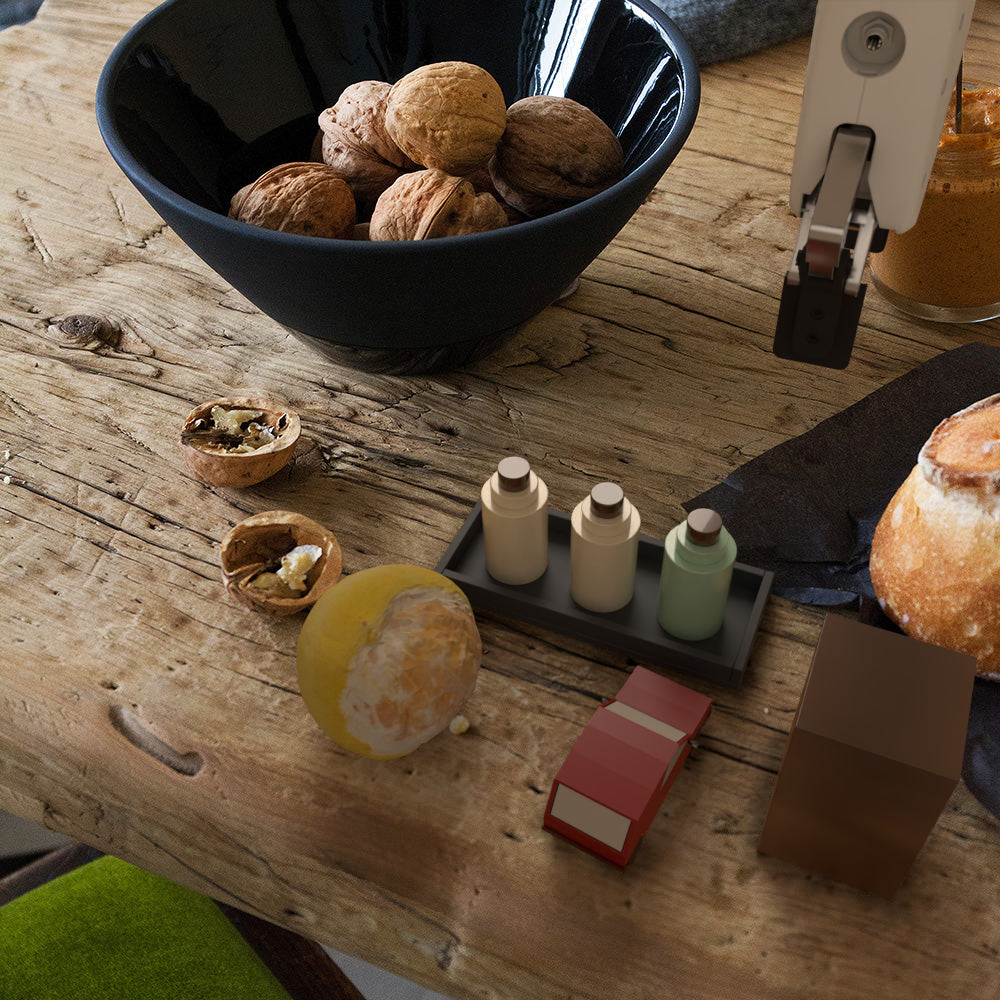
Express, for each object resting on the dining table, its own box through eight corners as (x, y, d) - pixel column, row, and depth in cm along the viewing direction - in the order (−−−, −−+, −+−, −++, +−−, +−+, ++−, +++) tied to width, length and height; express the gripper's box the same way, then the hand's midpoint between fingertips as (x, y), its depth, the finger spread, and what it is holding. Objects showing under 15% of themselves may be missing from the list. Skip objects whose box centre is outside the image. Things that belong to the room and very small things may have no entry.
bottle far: (557, 548, 69) (558, 454, 63) (533, 593, 66) (532, 499, 60) (500, 531, 70) (496, 437, 64) (474, 574, 68) (467, 480, 62)
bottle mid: (642, 573, 67) (652, 479, 61) (621, 620, 65) (629, 527, 59) (582, 555, 69) (586, 461, 62) (559, 601, 66) (561, 507, 60)
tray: (770, 593, 67) (775, 572, 65) (737, 692, 61) (742, 671, 60) (486, 510, 73) (484, 489, 71) (434, 593, 68) (432, 572, 66)
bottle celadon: (731, 600, 66) (750, 505, 59) (713, 649, 63) (731, 556, 57) (667, 581, 67) (679, 486, 61) (647, 628, 64) (658, 535, 58)
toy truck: (717, 725, 60) (730, 675, 56) (629, 891, 53) (638, 847, 49) (627, 682, 62) (634, 631, 58) (531, 836, 55) (533, 790, 52)
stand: (912, 786, 57) (977, 656, 48) (892, 901, 52) (960, 781, 44) (785, 743, 59) (826, 612, 50) (756, 850, 54) (794, 726, 46)
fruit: (281, 761, 59) (245, 658, 52) (361, 620, 66) (339, 512, 59) (445, 815, 56) (431, 713, 49) (511, 662, 63) (506, 554, 56)
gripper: (1018, -32, 29) (886, 434, 41) (1050, -179, 40) (940, 221, 52) (749, -53, 31) (700, 393, 43) (851, -186, 42) (789, 198, 54)
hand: (831, 299), depth 47 cm, fingers open, 9 cm apart
